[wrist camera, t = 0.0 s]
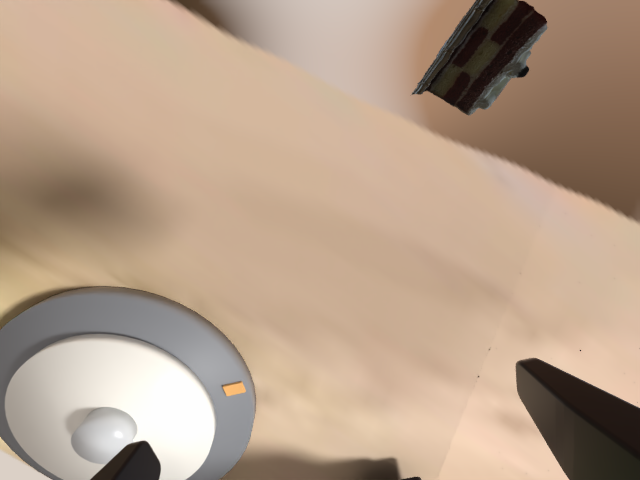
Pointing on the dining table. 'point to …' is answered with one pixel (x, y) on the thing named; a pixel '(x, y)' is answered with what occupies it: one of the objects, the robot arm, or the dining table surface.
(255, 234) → the dining table surface
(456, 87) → the chocolate cake
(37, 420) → the dial
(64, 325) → the dial base
